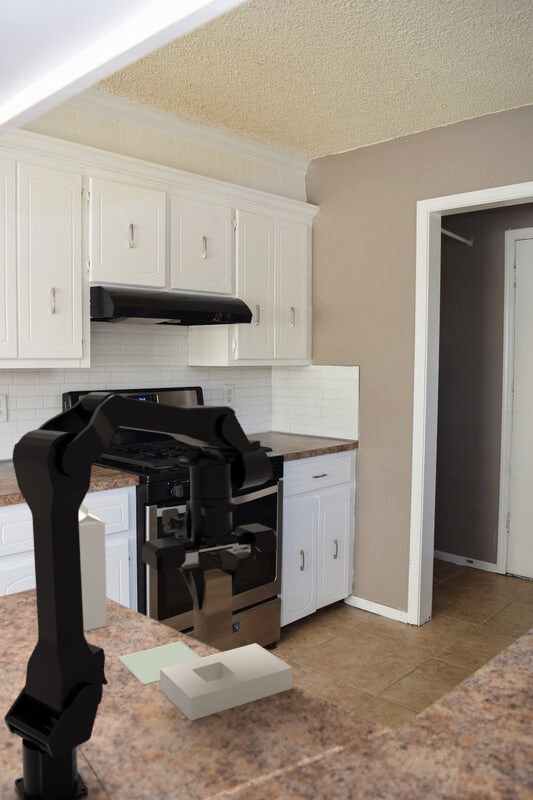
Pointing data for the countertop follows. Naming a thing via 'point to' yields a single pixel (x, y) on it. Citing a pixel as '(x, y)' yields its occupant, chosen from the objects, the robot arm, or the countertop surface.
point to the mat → (156, 660)
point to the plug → (215, 609)
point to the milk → (93, 569)
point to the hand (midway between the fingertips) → (212, 605)
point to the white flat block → (224, 680)
